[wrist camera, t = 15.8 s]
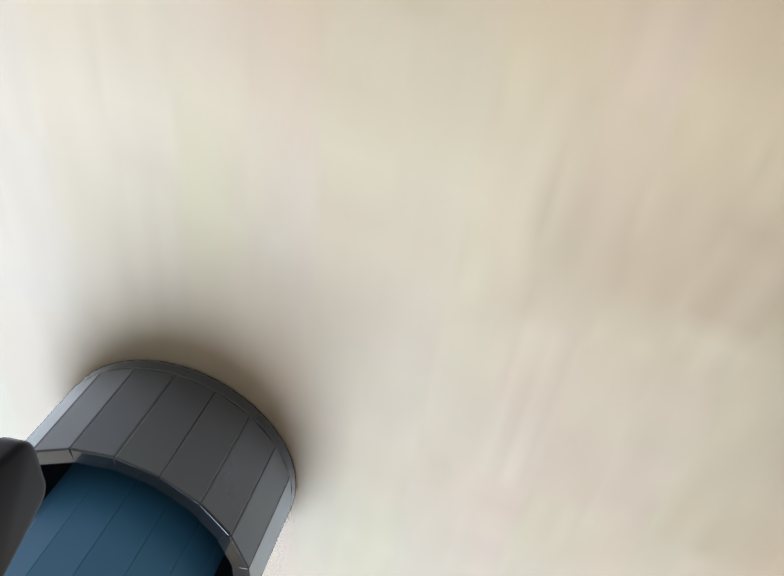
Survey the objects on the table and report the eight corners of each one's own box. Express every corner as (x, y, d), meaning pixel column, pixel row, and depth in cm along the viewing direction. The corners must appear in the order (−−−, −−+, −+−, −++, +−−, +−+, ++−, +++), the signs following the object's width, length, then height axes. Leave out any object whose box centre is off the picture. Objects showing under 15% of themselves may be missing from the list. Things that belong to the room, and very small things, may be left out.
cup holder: (290, 382, 25) (238, 481, 21) (301, 560, 30) (260, 666, 26) (43, 341, 26) (-46, 426, 23) (92, 516, 31) (26, 610, 27)
